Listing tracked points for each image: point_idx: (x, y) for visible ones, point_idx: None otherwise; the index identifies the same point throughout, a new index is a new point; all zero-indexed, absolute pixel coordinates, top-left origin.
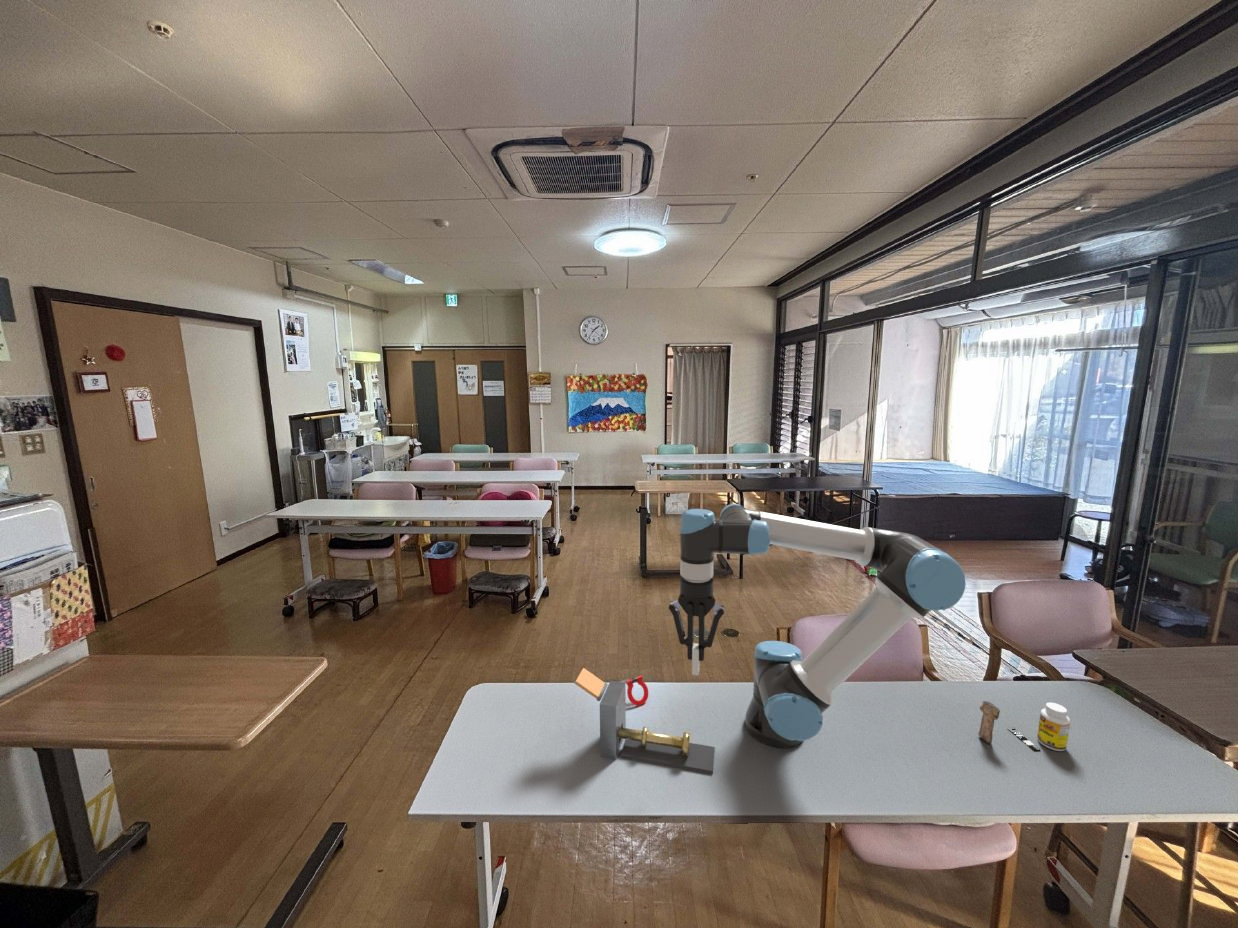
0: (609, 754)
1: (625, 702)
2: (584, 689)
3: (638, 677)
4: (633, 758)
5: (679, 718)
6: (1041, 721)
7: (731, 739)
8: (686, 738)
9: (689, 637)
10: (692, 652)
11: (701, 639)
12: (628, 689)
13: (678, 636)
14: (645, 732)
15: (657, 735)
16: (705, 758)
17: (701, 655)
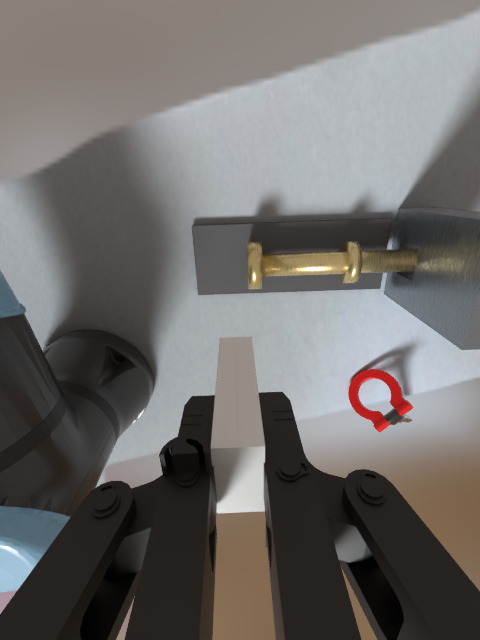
0: (418, 208)
1: (423, 321)
2: None
3: (384, 424)
4: (361, 219)
5: (278, 357)
6: None
7: (171, 328)
8: (253, 259)
9: (313, 559)
10: (260, 422)
11: (171, 555)
12: (400, 390)
13: (444, 550)
14: (354, 256)
15: (322, 263)
16: (211, 257)
17: (197, 421)
